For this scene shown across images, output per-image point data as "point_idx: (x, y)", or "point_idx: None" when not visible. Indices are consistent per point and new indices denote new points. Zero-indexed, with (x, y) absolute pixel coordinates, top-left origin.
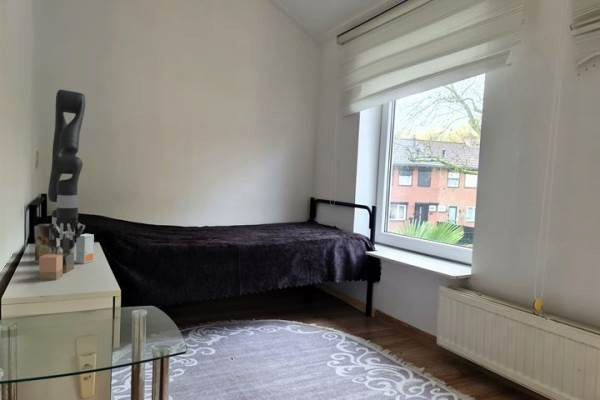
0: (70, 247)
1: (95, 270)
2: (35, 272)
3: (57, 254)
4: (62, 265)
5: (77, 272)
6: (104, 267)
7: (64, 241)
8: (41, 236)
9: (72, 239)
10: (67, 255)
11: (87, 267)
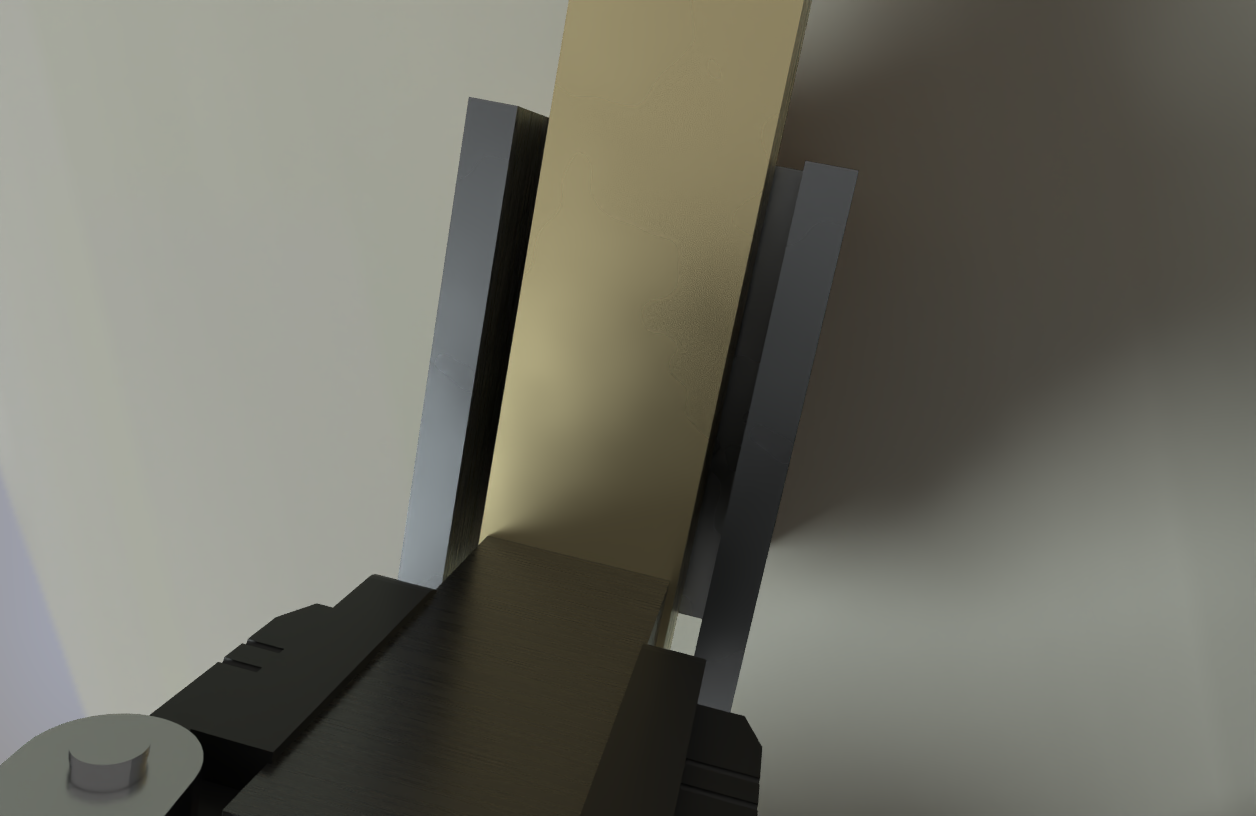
0: (371, 589)
1: (113, 299)
2: (1242, 250)
3: (797, 411)
4: None
5: (388, 169)
6: (24, 511)
7: (525, 789)
8: None
9: (79, 720)
10: (468, 235)
11: (304, 553)
